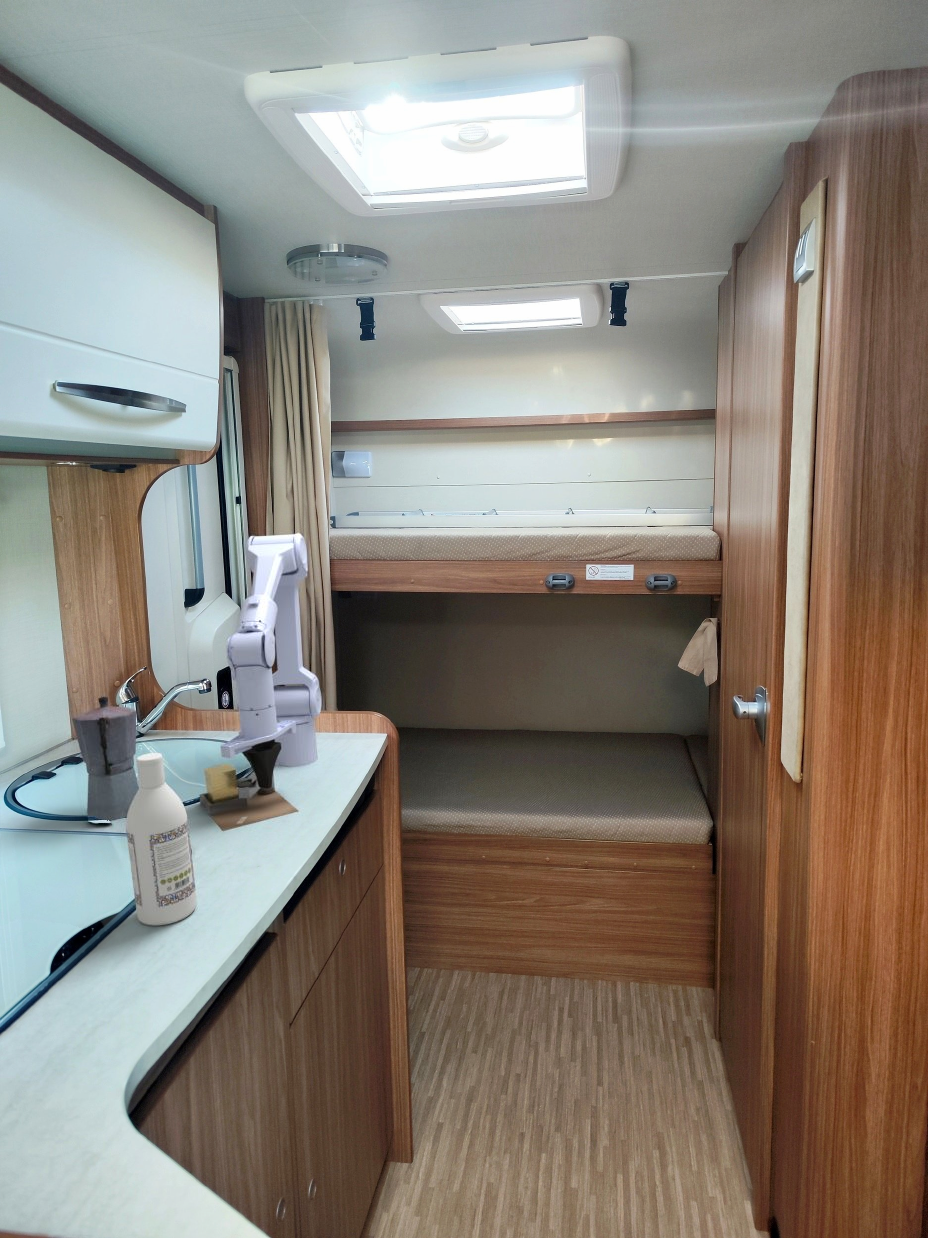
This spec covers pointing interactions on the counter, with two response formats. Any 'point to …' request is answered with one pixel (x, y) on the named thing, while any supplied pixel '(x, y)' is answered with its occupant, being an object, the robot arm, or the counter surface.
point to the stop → (221, 783)
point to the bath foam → (159, 848)
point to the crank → (252, 787)
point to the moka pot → (108, 758)
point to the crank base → (246, 809)
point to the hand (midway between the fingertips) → (265, 787)
